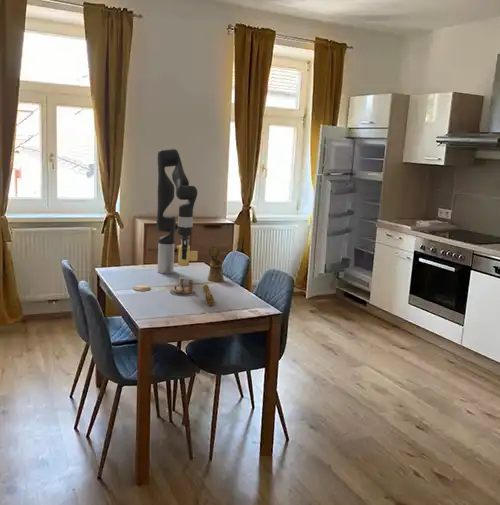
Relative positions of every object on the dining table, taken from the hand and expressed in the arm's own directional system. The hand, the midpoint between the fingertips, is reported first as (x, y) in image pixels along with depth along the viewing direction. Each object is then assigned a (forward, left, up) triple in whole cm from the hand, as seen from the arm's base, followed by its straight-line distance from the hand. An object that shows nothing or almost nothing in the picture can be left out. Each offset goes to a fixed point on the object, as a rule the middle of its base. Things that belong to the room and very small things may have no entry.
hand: (183, 257), depth 281 cm
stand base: (0, 0, -18) cm, 18 cm away
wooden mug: (-29, +19, -18) cm, 39 cm away
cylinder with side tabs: (0, +1, -4) cm, 4 cm away
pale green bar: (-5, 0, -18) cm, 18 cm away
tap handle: (+9, +13, -19) cm, 24 cm away
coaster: (-5, -21, -18) cm, 28 cm away
